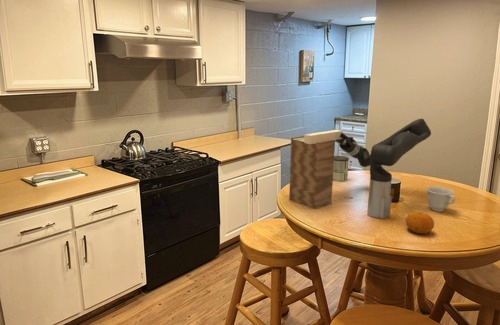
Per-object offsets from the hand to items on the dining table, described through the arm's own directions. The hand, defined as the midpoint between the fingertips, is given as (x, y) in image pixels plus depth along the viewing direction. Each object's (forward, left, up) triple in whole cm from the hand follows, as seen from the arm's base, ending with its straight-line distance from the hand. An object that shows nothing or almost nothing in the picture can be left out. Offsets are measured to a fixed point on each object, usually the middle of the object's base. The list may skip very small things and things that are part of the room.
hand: (334, 133), depth 180 cm
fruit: (-49, +3, -35) cm, 60 cm away
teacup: (-44, -28, -35) cm, 63 cm away
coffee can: (+20, -34, -35) cm, 53 cm away
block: (0, +8, -3) cm, 8 cm away
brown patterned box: (+4, +11, -35) cm, 37 cm away
